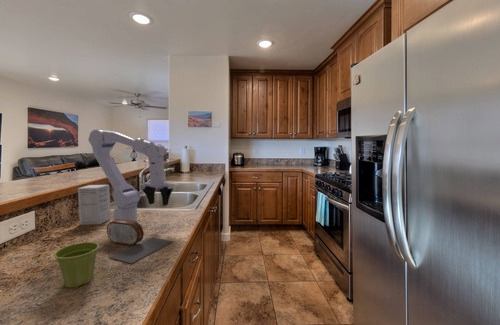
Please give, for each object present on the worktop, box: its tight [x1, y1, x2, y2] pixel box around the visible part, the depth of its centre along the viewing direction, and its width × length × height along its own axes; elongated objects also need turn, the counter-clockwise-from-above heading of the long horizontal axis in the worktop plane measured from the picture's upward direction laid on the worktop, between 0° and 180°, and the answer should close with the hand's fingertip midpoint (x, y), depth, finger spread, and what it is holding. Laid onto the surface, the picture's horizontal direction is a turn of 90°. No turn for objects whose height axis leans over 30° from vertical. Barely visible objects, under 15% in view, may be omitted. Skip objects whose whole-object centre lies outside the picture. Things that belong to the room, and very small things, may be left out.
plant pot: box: [53, 241, 100, 289], centre depth 62 cm, size 9×9×9 cm
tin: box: [106, 219, 145, 246], centre depth 87 cm, size 15×3×8 cm, turn 71°
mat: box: [108, 236, 174, 265], centre depth 82 cm, size 10×18×1 cm, turn 157°
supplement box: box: [77, 184, 112, 226], centre depth 112 cm, size 10×9×17 cm
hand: (158, 204), depth 102 cm, fingers open, 7 cm apart
